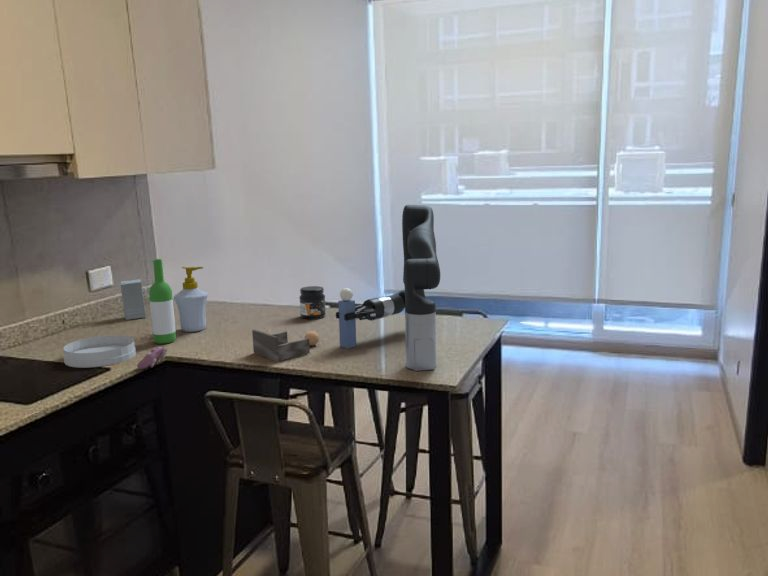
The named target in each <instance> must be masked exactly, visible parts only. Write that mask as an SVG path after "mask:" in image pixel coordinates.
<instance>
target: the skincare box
mask: <svg viewBox="0 0 768 576" xmlns="http://www.w3.org/2000/svg"><path fill="white" fill-rule="evenodd" d="M119 285H120V291H121V299H122V305H123V313H124V317H125V321H128V320H136V319H143V318H146V317H147V316H146V309H145V308H146V307H145V301H144V293H143V283H142V280H141V279H133V280H123V281H120V282H119Z"/></svg>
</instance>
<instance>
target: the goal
mask: <svg viewBox="0 0 768 576" xmlns="http://www.w3.org/2000/svg"><path fill="white" fill-rule="evenodd" d="M251 333H252V335H251V336H252V345H253V346H252V348H253V349H252V350H253V354H255V355H257V356H260V357H262V356H263V358H265V357H266V359H268V360H270V361H273V362H276V363H279V362H282V361H285V359H286V360H289V358H290V359H293V357H294V358H297V357H300V355H301V356H304V354H305V355H308V354H307V353H309V354H311V350H310V349H311V348H310V345H309V338H306V339H305V338H302V339H299V340H298V339H297V340H295V341H290V342H288V341H289V340H288V331H280V332H278V333H277V332H276V333H272V334H271V333H266V332H264V331H260V330H258V329H252V330H251ZM281 360H282V361H281Z"/></svg>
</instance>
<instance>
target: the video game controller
mask: <svg viewBox="0 0 768 576" xmlns="http://www.w3.org/2000/svg"><path fill="white" fill-rule="evenodd" d="M167 351H168V350H167V349H166V348H164V347H161V346H158V347H153V348H152V349H151V350H150V351H149V352H147V354H146V355H145V356H144V357H143V358H142V359H141V360H140V361H138V363H137V369H138V370H145V369H146V368H147V367H150V368H153V367H154V366H155V364H156V365H158V364H160V363H161V360H162V359H163V358H164V357H165V355H166V353H167Z"/></svg>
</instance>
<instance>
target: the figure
mask: <svg viewBox="0 0 768 576" xmlns="http://www.w3.org/2000/svg"><path fill="white" fill-rule="evenodd" d="M353 296H354V293H353V290H352V289H351V288H349V287H344V288H342V289H341V290H340V292H339V297H340V300H338V302H337V303H338V312H339V319H338V327H339V328H338V331H339V347H340V346H342V347H341V348H344V347H345V348H344V349H347V348H348V349H351V348H350V347H352V348H355V347H357V327H356V324H357V323H356V320H355V319H352V320H348V321H345V320H344V315H345V314H348V313H352V312H353V313H354V312H355V307H356V301H355V300H353V299H352V298H353Z"/></svg>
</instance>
